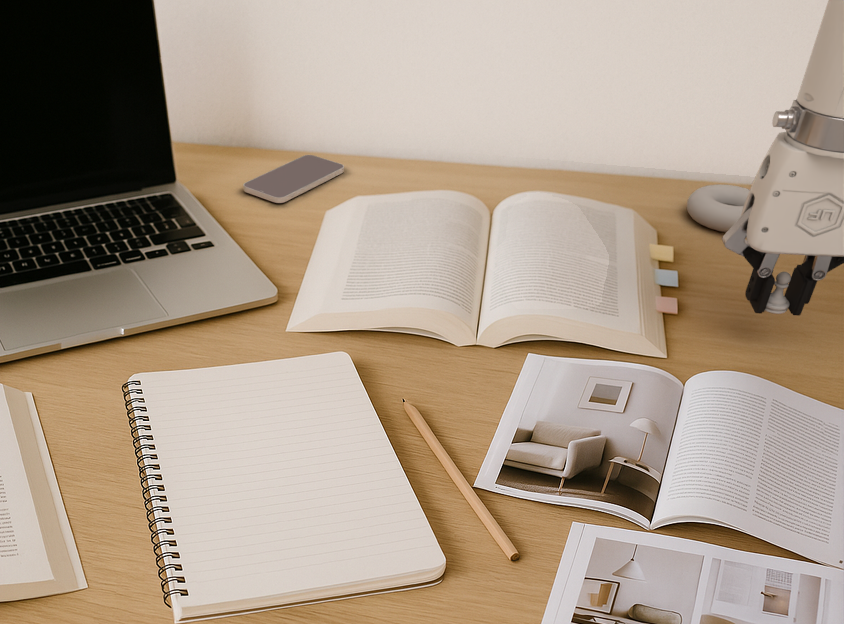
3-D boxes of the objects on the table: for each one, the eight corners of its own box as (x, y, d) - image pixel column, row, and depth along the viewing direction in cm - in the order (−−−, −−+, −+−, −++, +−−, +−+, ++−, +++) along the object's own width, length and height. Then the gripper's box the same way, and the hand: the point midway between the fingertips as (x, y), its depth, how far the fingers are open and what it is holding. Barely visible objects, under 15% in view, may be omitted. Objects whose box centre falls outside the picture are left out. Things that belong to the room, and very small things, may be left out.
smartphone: (347, 165, 122) (280, 199, 112) (347, 171, 122) (280, 205, 113) (307, 153, 125) (239, 184, 116) (307, 159, 126) (239, 191, 116)
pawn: (758, 311, 82) (770, 276, 80) (758, 298, 84) (770, 263, 82) (788, 316, 82) (801, 281, 79) (787, 303, 83) (800, 268, 81)
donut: (678, 201, 114) (688, 233, 106) (685, 177, 112) (696, 207, 104) (758, 208, 112) (774, 241, 104) (766, 184, 110) (784, 215, 102)
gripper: (748, 140, 70) (694, 322, 81) (963, 146, 68) (877, 333, 79) (727, 108, 76) (679, 283, 87) (923, 113, 74) (849, 292, 85)
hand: (773, 305), depth 83 cm, fingers closed on pawn, 2 cm apart
